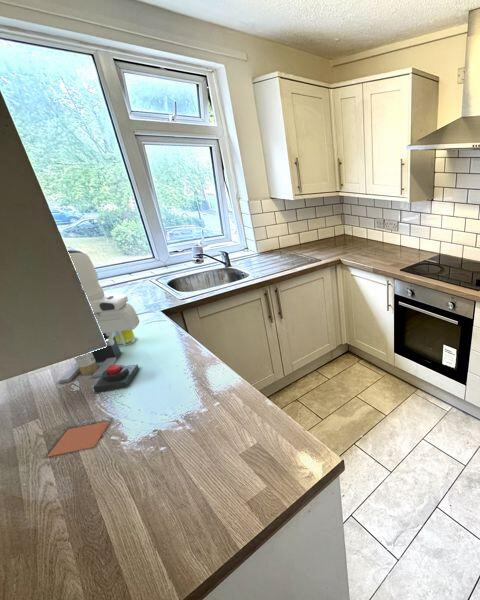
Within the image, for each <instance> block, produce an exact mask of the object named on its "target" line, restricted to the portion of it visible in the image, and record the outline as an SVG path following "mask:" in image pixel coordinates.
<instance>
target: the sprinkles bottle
mask: <svg viewBox="0 0 480 600" xmlns="http://www.w3.org/2000/svg"><path fill="white" fill-rule="evenodd" d="M73 359H74V362H75V364H77V366H78V367H79V369H80V374H81V375H84V376H85V375H90V374H94V373H95V372H96V371H97V369H98V368H99V367H100V366H98V364H97V363H96V361H95V358H94V356H93V354H92V352H91V353H88V354H85V355H83V356H79V357H77V358H74V357H73Z"/></svg>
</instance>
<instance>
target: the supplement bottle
mask: <svg viewBox="0 0 480 600" xmlns="http://www.w3.org/2000/svg"><path fill="white" fill-rule="evenodd" d="M133 331H134V330H126V331H118V332H115V335H114V336H115V339H116V341H117V344H118V346H119V347H124V346H128V345H131V344H133V343H135V342H136V337H135V334H134V332H133Z"/></svg>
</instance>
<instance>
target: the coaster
mask: <svg viewBox="0 0 480 600" xmlns="http://www.w3.org/2000/svg"><path fill="white" fill-rule="evenodd" d="M110 423H111V420H109V421H104V422H97V423H92V424H88V425H83V426H82V425H81V426H77V427H72V428H68V429H67V430H66V432H65V433H64V434H63V435H62V436H61V438H60V439H58V441H57V443H56V444H55V446H54V447H53V448H52V449H51V451H50V452H49V453H48V455H47V456H46V457H47V458H49V457H53V456H59V455H63V454H67V453H72V452H78V451H82V450H86V449H87V450H88V449H92V448H95V446H96V445H97V443H98V442H99V440H100V438H101V437H102V436H103V434H104V432H105V431H106V429H107V427H108V426H109V425H110Z"/></svg>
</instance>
